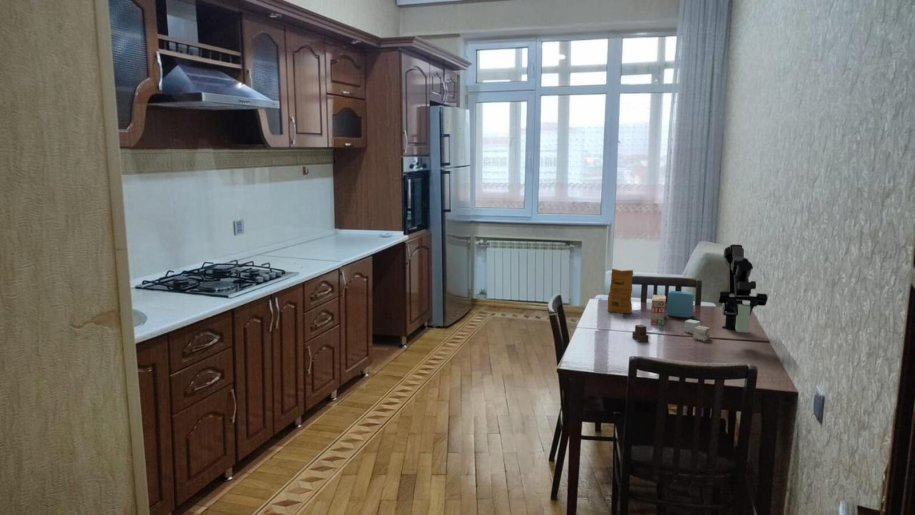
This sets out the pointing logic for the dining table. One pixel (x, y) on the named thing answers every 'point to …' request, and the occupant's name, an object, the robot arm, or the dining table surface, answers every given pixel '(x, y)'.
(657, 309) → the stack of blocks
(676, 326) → the dining table surface
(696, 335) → the oatmeal cube
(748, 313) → the sage green block
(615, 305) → the coffee package
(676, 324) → the dining table surface
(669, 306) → the light blue box
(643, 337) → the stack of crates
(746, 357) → the dining table surface
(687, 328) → the light grey cube
